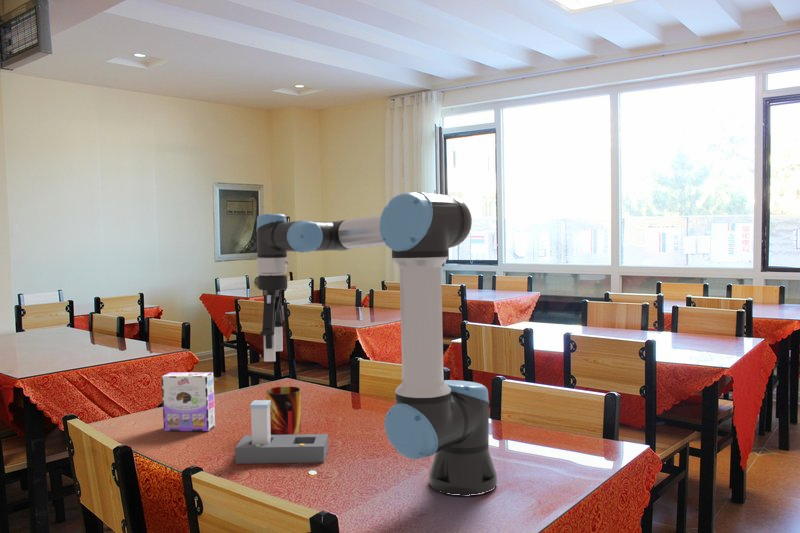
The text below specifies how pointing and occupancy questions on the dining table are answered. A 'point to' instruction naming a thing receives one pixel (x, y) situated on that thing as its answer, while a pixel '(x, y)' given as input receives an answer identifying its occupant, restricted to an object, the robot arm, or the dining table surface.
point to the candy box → (188, 401)
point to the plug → (260, 422)
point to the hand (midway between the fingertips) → (273, 356)
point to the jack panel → (283, 449)
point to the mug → (284, 410)
